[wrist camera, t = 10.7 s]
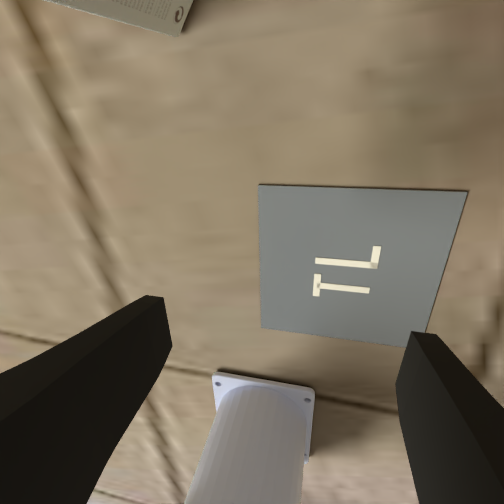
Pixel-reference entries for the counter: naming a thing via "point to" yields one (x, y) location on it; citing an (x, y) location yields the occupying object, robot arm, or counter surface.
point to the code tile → (353, 259)
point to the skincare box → (138, 12)
